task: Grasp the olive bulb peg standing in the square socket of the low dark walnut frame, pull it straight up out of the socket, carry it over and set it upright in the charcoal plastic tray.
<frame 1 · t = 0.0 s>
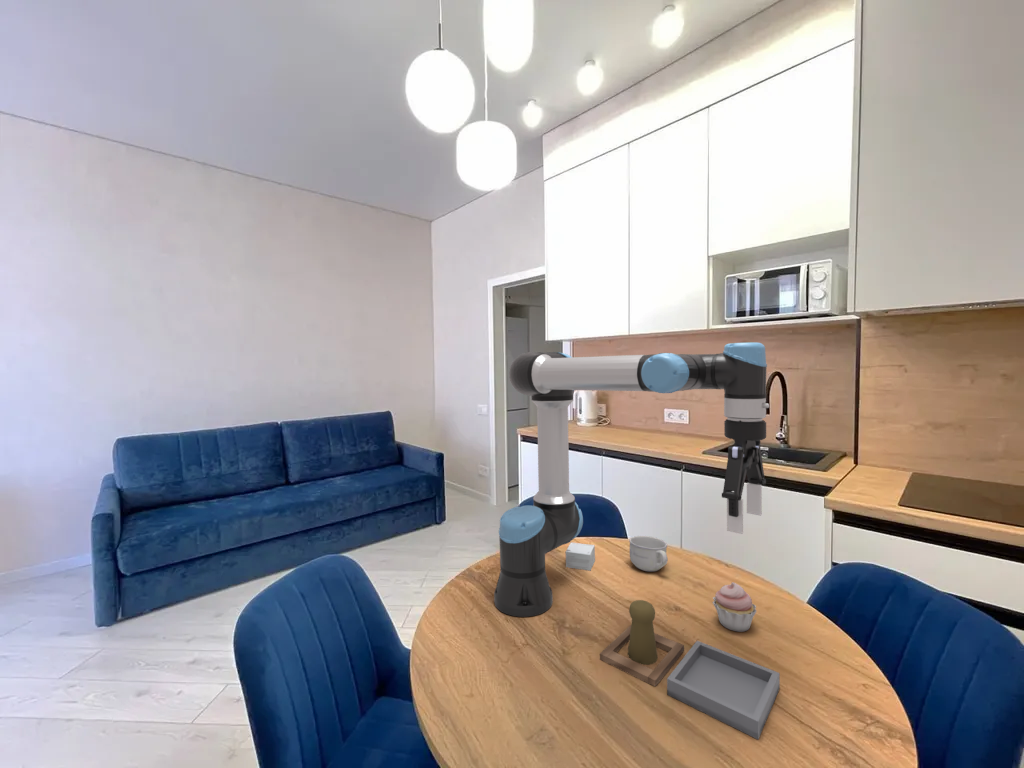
hand: (745, 522, 90), 28 cm above the table, fingers open, 13 cm apart
small box: (580, 564, 136), on the table
socket block: (642, 654, 92), on the table
olive bulb peg: (642, 656, 92), resting in socket block
tray: (723, 691, 81), on the table
teacup: (650, 570, 131), on the table
cupcake: (734, 625, 102), on the table
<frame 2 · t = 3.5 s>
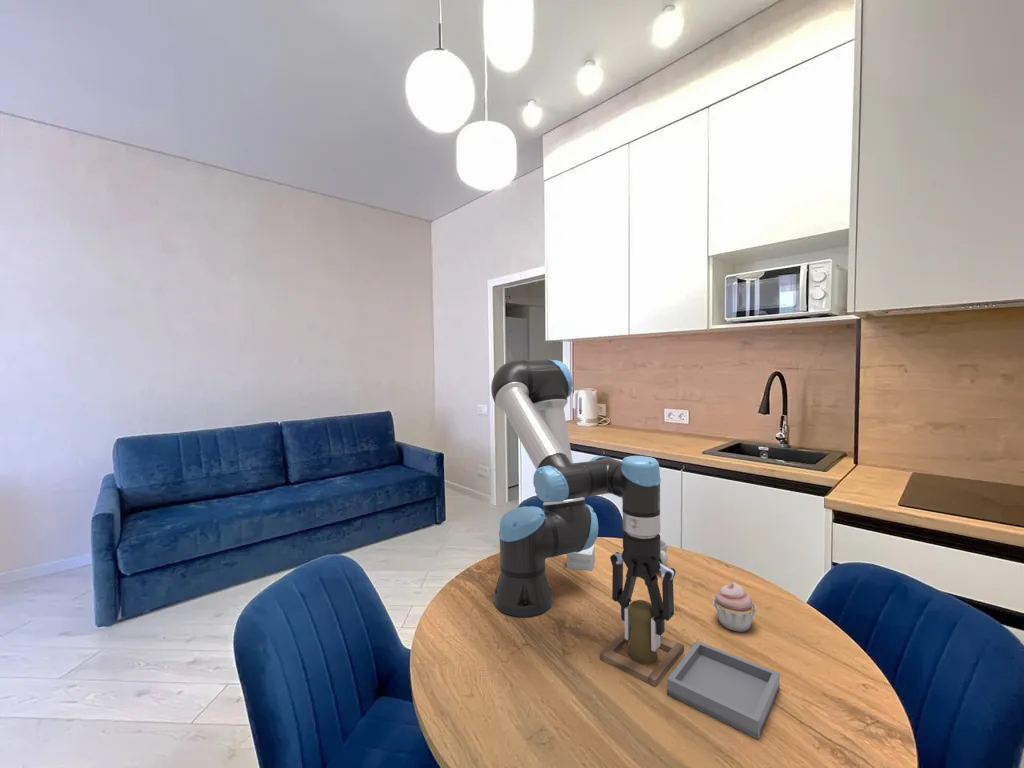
hand: (642, 641, 92), 3 cm above the table, fingers closed on olive bulb peg, 5 cm apart
olive bulb peg: (642, 655, 92), resting in socket block, touching gripper
everything else where it was.
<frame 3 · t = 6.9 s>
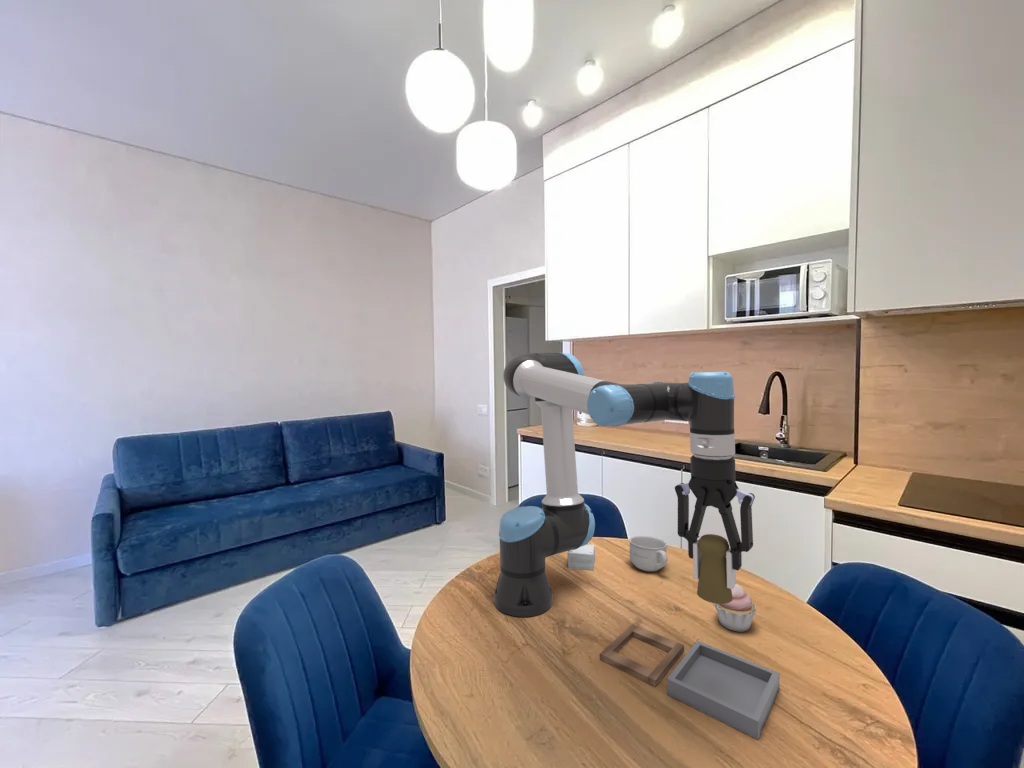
hand: (714, 580, 82), 20 cm above the table, fingers closed on olive bulb peg, 5 cm apart
olive bulb peg: (714, 596, 82), point 18 cm above the table, touching gripper
everything else where it was.
when the fingers open (5 cm above the table, at t = 10.1 s): olive bulb peg drops 1 cm, resting on tray.
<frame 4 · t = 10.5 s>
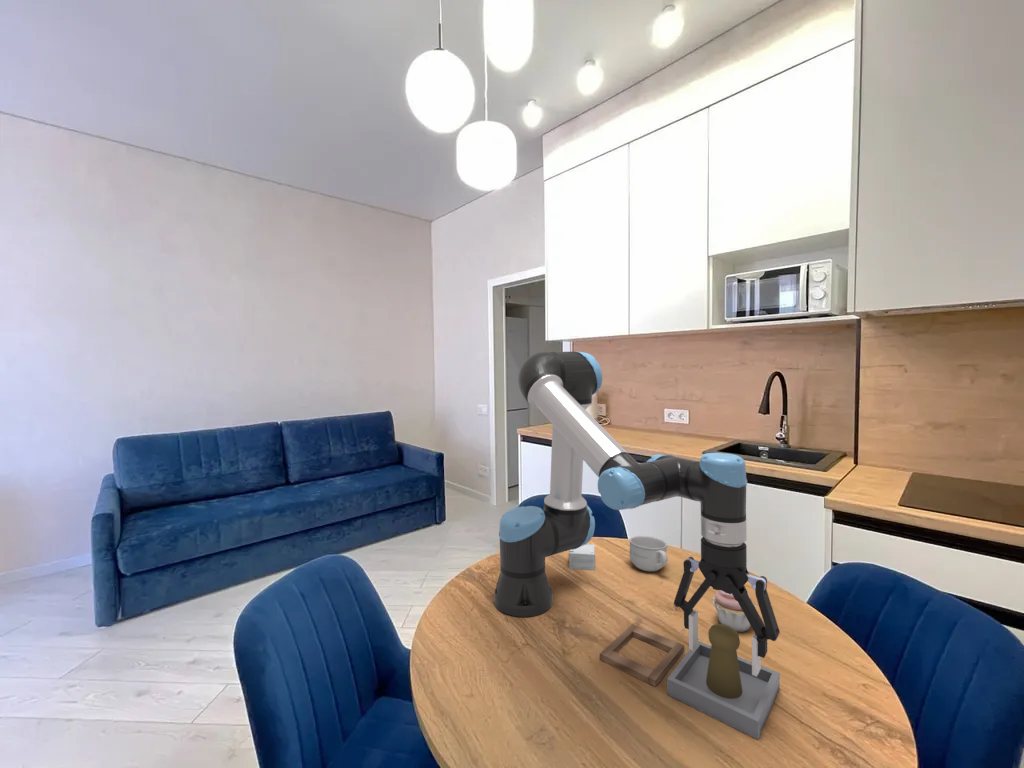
hand: (723, 658, 81), 6 cm above the table, fingers open, 10 cm apart
olive bulb peg: (723, 687, 81), point 1 cm above the table, touching tray
everything else where it was.
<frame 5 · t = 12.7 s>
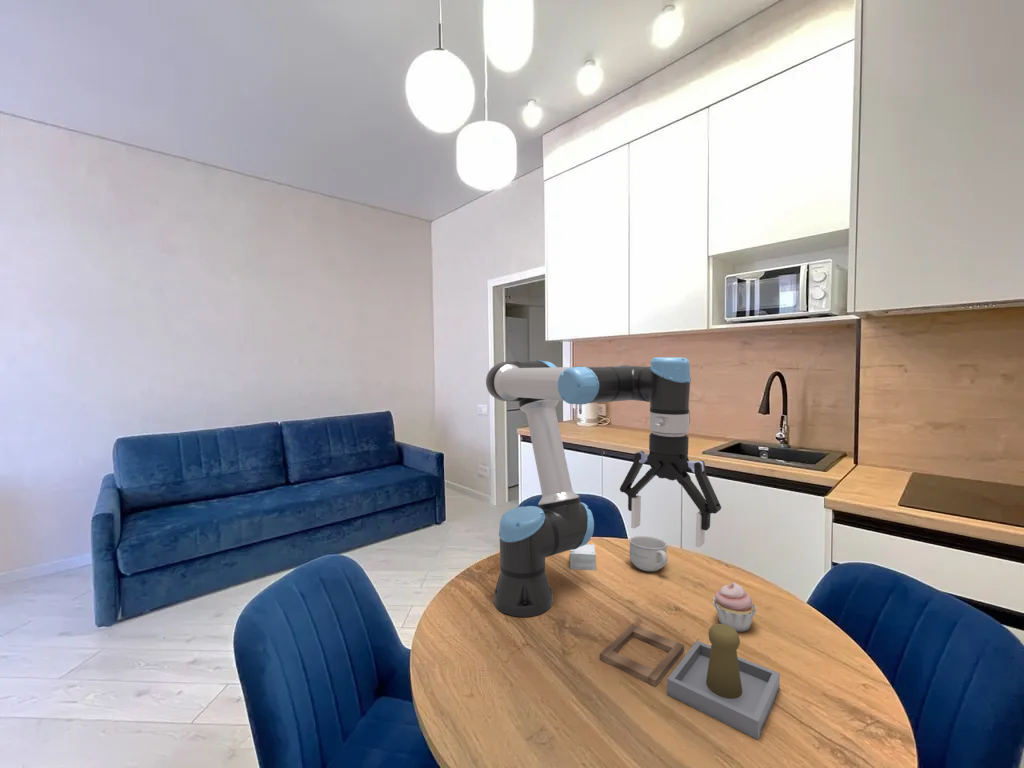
hand: (666, 535, 91), 25 cm above the table, fingers open, 13 cm apart
nothing on the table moved.
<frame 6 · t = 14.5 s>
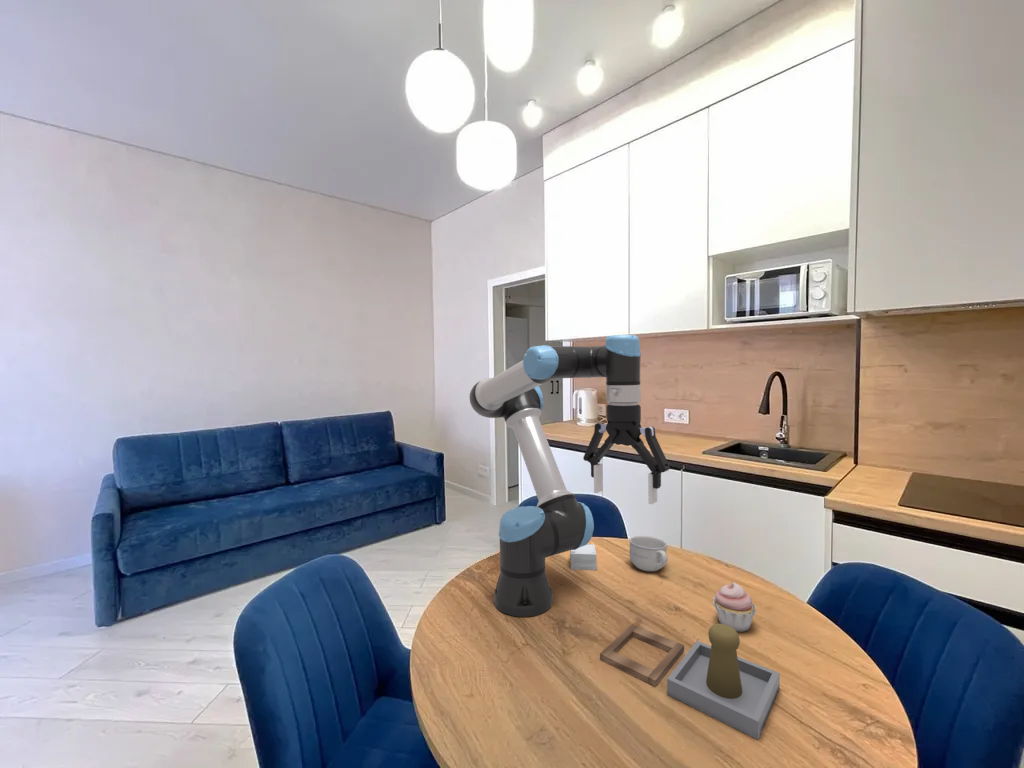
hand: (624, 497, 100), 31 cm above the table, fingers open, 13 cm apart
nothing on the table moved.
at the end: olive bulb peg inside the target area on the tray (0.1 cm from its centre), point 0.8 cm above the tray's base; olive bulb peg tilted 0°; the gripper is holding nothing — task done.
